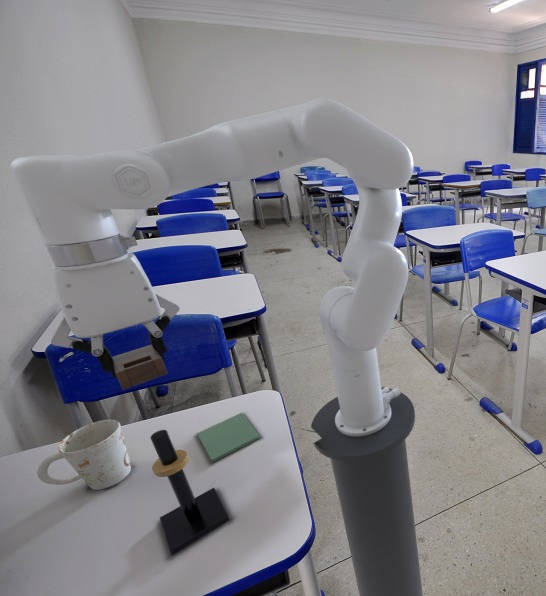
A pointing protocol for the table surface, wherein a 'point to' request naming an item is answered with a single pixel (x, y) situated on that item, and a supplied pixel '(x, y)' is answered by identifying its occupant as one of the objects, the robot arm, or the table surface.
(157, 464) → the hanging post
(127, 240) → the robot arm
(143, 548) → the table surface
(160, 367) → the brown block with hole
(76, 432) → the mug
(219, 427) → the mat
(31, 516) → the table surface
